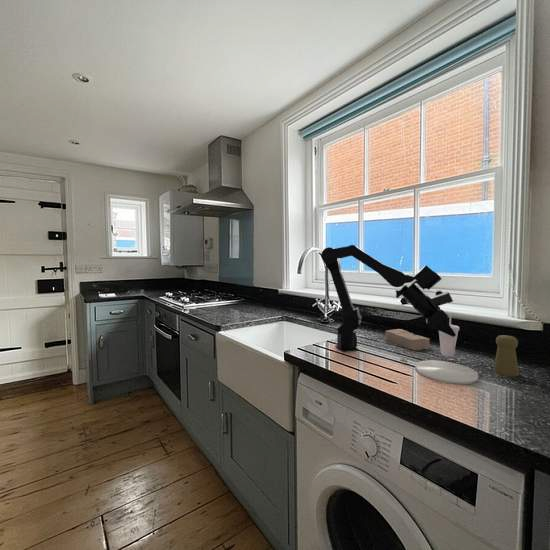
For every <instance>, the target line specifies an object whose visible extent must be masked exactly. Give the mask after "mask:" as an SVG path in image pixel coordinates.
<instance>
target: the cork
mask: <svg viewBox="0 0 550 550" xmlns="http://www.w3.org/2000/svg"><path fill="white" fill-rule="evenodd" d="M495 343H496V345H497V349H496V354H495V358H494V364H493V369H492V371H493V372H494V373H496V374H498V375H502V376H507V377H518V376H520V375H519V374H520V373H519V367H518V366H519V365H518V359H517V358H518V357H517V352H516V348H517V347H518V346H519V340H518V339H517V338H516V336H512V335H505V334H502V335H498V336H497V337H496V338H495Z"/></svg>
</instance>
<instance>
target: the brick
mask: <svg viewBox="0 0 550 550" xmlns="http://www.w3.org/2000/svg"><path fill="white" fill-rule="evenodd" d="M385 340H386V341H388V342H389V341H390V342H389V343H391V344H392V343H393V344H395V345H397V344H398V346H400V345H401V347H403V348H405V349H410V350H411V349H412V351H423V350H422V349H426V350H430V349H431V347H430V346H431V343H430V341H431V339H430V338H428V337H425V336H421V335H418V334H414V333H413V332H409V331H408V330H406V329H405V330H404V329H402V328H397V329H396V328H395V329H389V330H385Z"/></svg>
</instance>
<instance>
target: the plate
mask: <svg viewBox="0 0 550 550" xmlns="http://www.w3.org/2000/svg"><path fill="white" fill-rule="evenodd" d="M414 367H415V368H414V369H415V372H417V374H419V375H420V376H422V377H424V378H427V379H430V380H433V381H436V382H440V383H446V384H453V385H471V384H475V383H477V382H478V380H479V373H478V372H477V371H476V370H475V369H472V368H471V367H469V366H466V365H463V364H460V363H456V362H450V361H445V360H444V361H443V360H432V359H431V360H429V359H427V360H420V361H418V362H416V363H415V366H414Z"/></svg>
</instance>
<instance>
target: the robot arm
mask: <svg viewBox="0 0 550 550" xmlns="http://www.w3.org/2000/svg"><path fill="white" fill-rule="evenodd" d="M320 255H321V259H322V261H323V263H324V265H325V267H326V268H327V269H328V271H329V273H330V275H331V279H332V281H333V284H334V288H335V291H336V293H337V297H338V300H339V303H340V306H341V317H342V318H341V319H342V323H341V324H340V325H339V326H338V327H337V328H336V329H337V333H336V334H337V336H336V337H337V338H336V340H337V341H336V343H337V344H336V345H334V346H335V348H337V349H338V350H339V351H342V352H349V351H351V352H352V351H358V350H359V347H358V336H357V332H356V330H357V329H358V328H359V326H360V324H361V323H362V317H363V316H362V314H361V312H360V308H359V307H358V306H357V307H355V306H354V305H353V302H352V299H351V295H350V293H349V290H348V287H347V285H346V281H345V278H344V275H343V272H342V267H341V259H344V258H347V257H353V258H354V259H356V260H357V261H359V262H360V263H362V264H364V265H365V266H367V267H368V268H370V269H372V270H373V271H374V272H376V273H378V274H379V275H380V276H381V277H382V278H383V280H385V281H386V282H387V283H388V284H389V285H390V286H392V287H393V288H400V289H395V298H396V299H399V298H400V297H403V298H404V299H405V300H406V301H407V302H408V303H409V304H410V305H411V306H412V307H413V309H414V310H416V311H417V312H418V313H419V314H420V315H421V317H422V318H423V319H424V320H425V322H426V324H427V325H428V326H429V327H430V328H433V329H435V330H437V331H438V332H439V331H441V332H444V333H446V334H448V335H450V336H452V337H454V336H456V334H455V333H454V331H453V330H452V328H451V327H450V325H449V322H448V318H449V315H448V314H447V313H446V312H445V311H444V310H443V309H441V307H440V306H443V305H445V304H450V303H453V302H454V300H453V298H452V296H451V294H450V292H449V291H441V290H437V291H435V292H434V293H435V295H433V296H431V297H430V296H429V295H426V294H425V292H424V291H422V290H428V291H429V290H430V289H432V288H433V287H434V286H435V285H436V284H438V283H439V282H441V280H442V279H443V278H442V277H441V276H440V275H439V274H438V272H436V271H435V270H433V269H431V267H429V266H428V265H424V266H423V267H422V268H421V269H420V270H419V271H418V272H417V273H416V274H414V275H413V274H410V275H409V274H405V273H403V272H402V271H401V270H398V269H396V268H394V267H391V266H388V265H386V264H384V263H383V262H381V261H379V260H378V259H376V258H374V257H373V256H371V255H370V254H368V253H367V252H365V251H363V250H362V249H360V248H359V247H358V246H357V245H354V244H350V245H346V246H341V247H335V248H334V247H329V246H328V247H326V248H324V249H323V250H322V251H321V253H320ZM409 283H410V284H409ZM406 284H409V285H406ZM416 284H417V285H418V286H419V287H420V288H421V289H420V288H419V287H418V286H417V285H416Z"/></svg>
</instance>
